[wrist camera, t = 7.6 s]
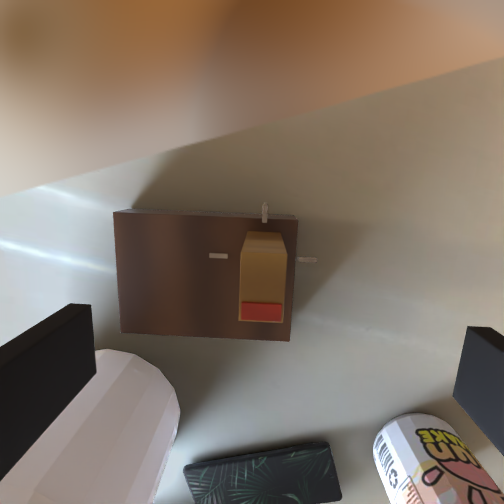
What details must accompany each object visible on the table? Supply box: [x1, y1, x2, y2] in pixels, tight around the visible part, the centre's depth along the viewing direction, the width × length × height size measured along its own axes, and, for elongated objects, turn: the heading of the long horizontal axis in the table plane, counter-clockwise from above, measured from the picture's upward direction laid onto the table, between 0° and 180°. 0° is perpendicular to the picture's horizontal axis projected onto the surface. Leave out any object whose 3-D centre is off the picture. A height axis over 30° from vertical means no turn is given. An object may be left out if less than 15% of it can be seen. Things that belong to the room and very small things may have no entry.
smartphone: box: [183, 442, 342, 504], centre depth 31 cm, size 7×1×15 cm
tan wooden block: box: [239, 231, 288, 323], centre depth 20 cm, size 4×2×7 cm, turn 178°
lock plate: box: [113, 203, 317, 342], centre depth 26 cm, size 16×11×3 cm
